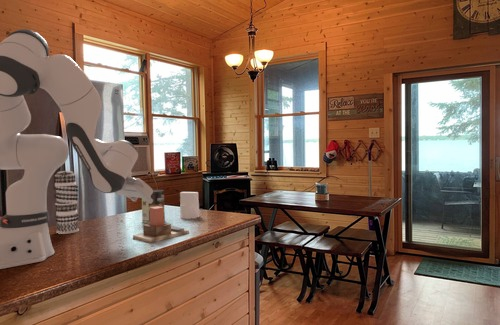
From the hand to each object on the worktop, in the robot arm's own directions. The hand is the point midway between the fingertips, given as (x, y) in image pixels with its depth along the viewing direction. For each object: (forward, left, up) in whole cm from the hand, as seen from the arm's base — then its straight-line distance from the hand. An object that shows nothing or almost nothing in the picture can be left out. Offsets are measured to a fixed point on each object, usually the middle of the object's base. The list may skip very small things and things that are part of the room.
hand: (143, 201), depth 139 cm
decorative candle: (-12, +37, -14) cm, 41 cm away
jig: (+6, -2, -14) cm, 16 cm away
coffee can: (+22, +25, -14) cm, 37 cm away
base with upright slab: (+38, +18, -14) cm, 45 cm away
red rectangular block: (+5, -2, -13) cm, 14 cm away
